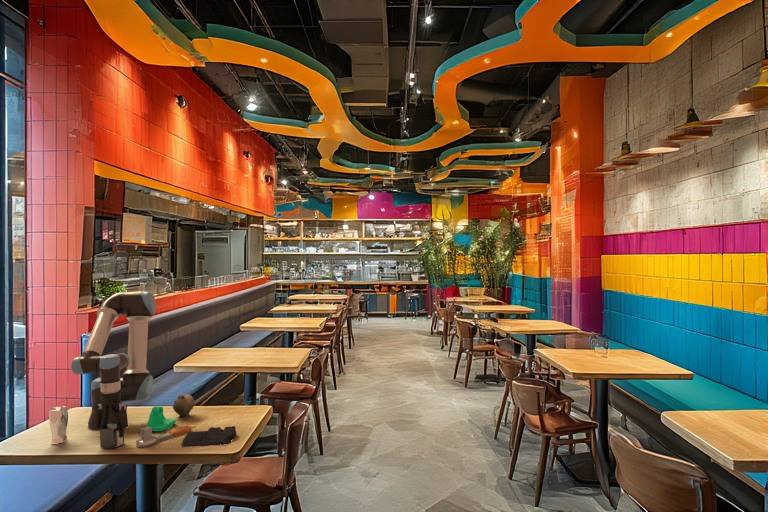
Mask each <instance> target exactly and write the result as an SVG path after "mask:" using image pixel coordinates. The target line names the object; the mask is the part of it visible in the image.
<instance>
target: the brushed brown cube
mask: <svg viewBox="0 0 768 512" xmlns="http://www.w3.org/2000/svg"><path fill="white" fill-rule="evenodd" d="M117 430H118V428H117V425H116V424H109V425H107V426H105V427H103V428H101V429H99V444H100V445H99V446H100V447H99V448H101V449H102V448H103V449H115V448H117V447H118V446H117ZM124 443H125V435H124V436H123V444H124Z"/></svg>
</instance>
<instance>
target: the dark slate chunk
mask: <svg viewBox="0 0 768 512" xmlns="http://www.w3.org/2000/svg"><path fill="white" fill-rule="evenodd" d="M236 436H237V430H236V426H235V425H233V426H230V425H229V426H225V427H224V428H223V429H222V428H221V426H218V427H214V426H213V427H209V428H208V429H207V430H203V431H202V430H200V431H197V430H196V431H195V430H194V431H191V432H188V433H186V435H185V436H184V438H183V440H182V443H181V448H191V447H192V448H193V447H207V446H208V447H209V445H213V446H225V445H224V444H227V445H228V444H232V443H231V440H232V439H233V440H234V438H235V439H236ZM220 444H221V445H220Z"/></svg>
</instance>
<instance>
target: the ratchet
mask: <svg viewBox="0 0 768 512" xmlns="http://www.w3.org/2000/svg"><path fill="white" fill-rule="evenodd" d="M146 426H147V425H146ZM146 426H145V427H140V429H139V430H140V431H139V432H140V438H138V439H137V440H136V441H135V445H136V448H138V449H146V448H151V447H153V446H155V445H156V444H157V443H159V442H163V441H165V440H168V439H171V438H175V437H179V436H182V435H184V434H188V433H189V432H193V429H192V428H193V427H192V426H190V425H187V424H186V425H184V426H181V427H178V428H174V429H172V430H169V431H168V432H167V433H162V434H160V435H156V436H155V435H154V436H153V431H152V428H151V427H149V426H147V427H146Z"/></svg>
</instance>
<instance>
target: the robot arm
mask: <svg viewBox="0 0 768 512" xmlns="http://www.w3.org/2000/svg"><path fill="white" fill-rule="evenodd" d="M156 312H157V303H156V298H155V295H154V294H153V293H152V292H151V291H127V292H126V291H121V292H116V293H114V294H112V295H110V296H109V297H108V298H106V299H105V300H104V301H103V302H102V303H101V305H100V306H99V307H98V310H97V312H96V317H97V318H96V321H95V322H94V325H93V328H92V329H91V332H90V335H89V337H88V339H87V342H86V344H85V345H84V346H85V347H84V349H83V352H82V354H81V356H77V357H74V358H73V359H72V360H71V366H70V368H71V369H70V370H71V372H72V373H73V374H75V375H88V374H89V375H90V374H99V377H97V378H95V379H94V380H92V381H91V384H90V386H91V387H90V388H91V389H90V392H91V393H90V395H91V396H90V397H91V411H90V415H89V418H88V420H87V428H88V429H91V430H100V429H101V428H103V427H105V426H107V425H109V424H116V425H117V428H118V430H117V447H119V446H121V445H123V444H124V443H123V436H124V437H125V430H126V429H127V428H129V421H128V420H129V419H128V411H127V410H128V405H127V404H122V402H123V403H124V402H139V401H144V400H145V401H146V400H147V399H148V398H149V397H150V396H151V393H152V390H153V386H154V377H153V376H152V375H151V374H150V371H149V370H148V369H147V355H148V354H147V353H148V337H149V336H148V333H149V321H150V320H151V319H152V317H153V316H152V315H154V314H156ZM120 316H126V317H125V319H126V320H127V321H128V323H129V324H128V326H129V327H128V339H127V340H128V342H127V353H124V352H122V353H121V352H120V353H117V354H116V353H115V354H114V353H110V354H106V355H102V353H103V351H104V348H105V346H106V344H107V342H108V338H109V337H110V334H111V331H112V329H113V325H114V324H115V321H117V320H118V319H119V317H120ZM124 370H125V371H124ZM123 371H124V372H123ZM121 372H123V373H122V377H121Z"/></svg>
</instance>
